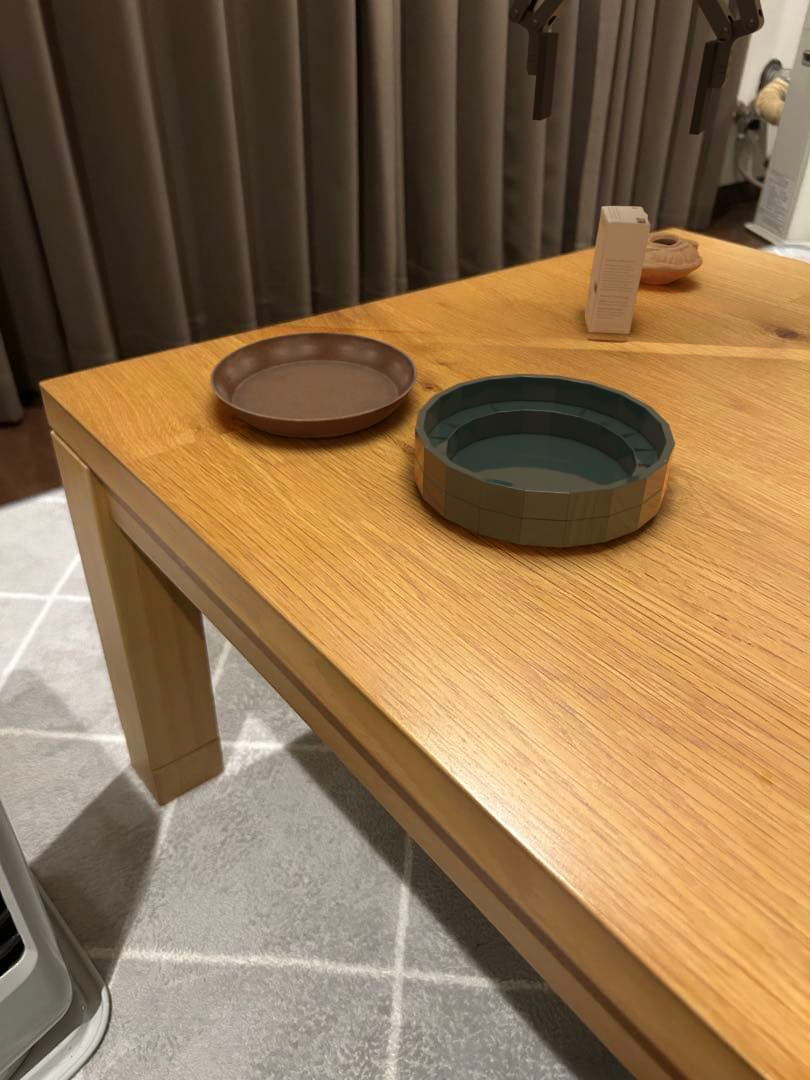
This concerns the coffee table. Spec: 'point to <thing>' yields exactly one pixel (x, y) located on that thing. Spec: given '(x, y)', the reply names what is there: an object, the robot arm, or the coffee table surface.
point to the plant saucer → (314, 383)
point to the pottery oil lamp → (669, 258)
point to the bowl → (542, 459)
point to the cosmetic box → (616, 270)
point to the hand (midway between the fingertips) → (616, 125)
